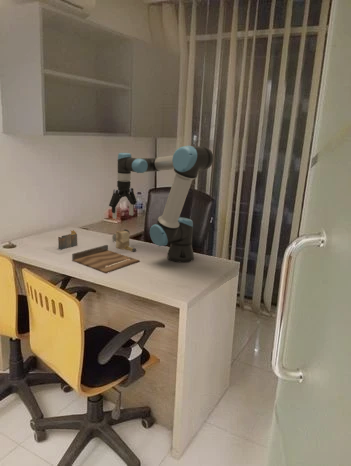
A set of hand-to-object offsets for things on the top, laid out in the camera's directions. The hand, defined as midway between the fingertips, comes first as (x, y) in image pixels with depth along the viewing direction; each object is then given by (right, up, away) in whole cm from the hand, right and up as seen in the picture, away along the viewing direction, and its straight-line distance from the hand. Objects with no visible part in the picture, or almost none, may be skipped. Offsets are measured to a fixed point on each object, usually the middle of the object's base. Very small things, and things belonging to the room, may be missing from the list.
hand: (123, 216), depth 213 cm
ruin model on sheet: (-33, -19, +1) cm, 38 cm away
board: (-6, -25, -19) cm, 32 cm away
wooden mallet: (+2, -19, +3) cm, 19 cm away
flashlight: (-4, -14, +23) cm, 28 cm away
